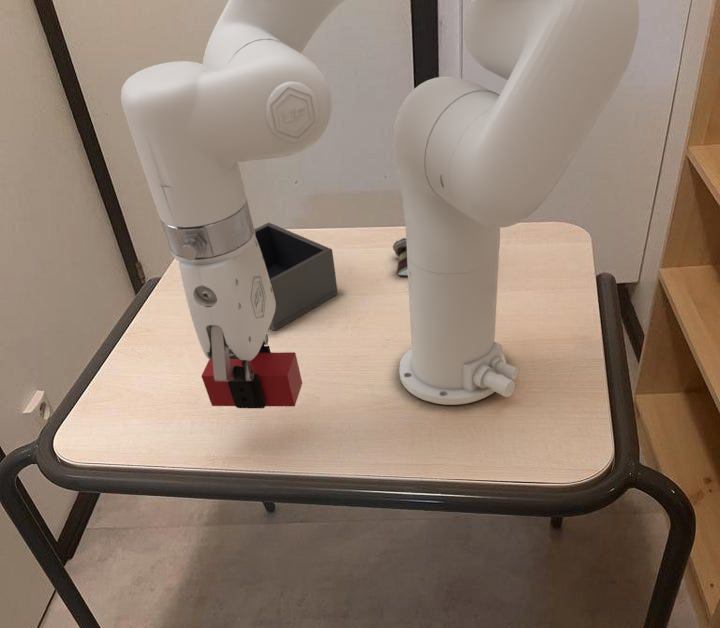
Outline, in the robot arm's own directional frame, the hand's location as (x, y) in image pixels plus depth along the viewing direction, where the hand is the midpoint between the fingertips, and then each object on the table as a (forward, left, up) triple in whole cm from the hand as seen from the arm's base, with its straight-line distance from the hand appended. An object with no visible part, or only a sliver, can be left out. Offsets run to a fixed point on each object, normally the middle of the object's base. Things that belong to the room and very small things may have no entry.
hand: (256, 390), depth 75 cm
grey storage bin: (+23, -20, -7) cm, 32 cm away
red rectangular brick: (0, 0, 0) cm, 0 cm away
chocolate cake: (+10, -38, -7) cm, 40 cm away
